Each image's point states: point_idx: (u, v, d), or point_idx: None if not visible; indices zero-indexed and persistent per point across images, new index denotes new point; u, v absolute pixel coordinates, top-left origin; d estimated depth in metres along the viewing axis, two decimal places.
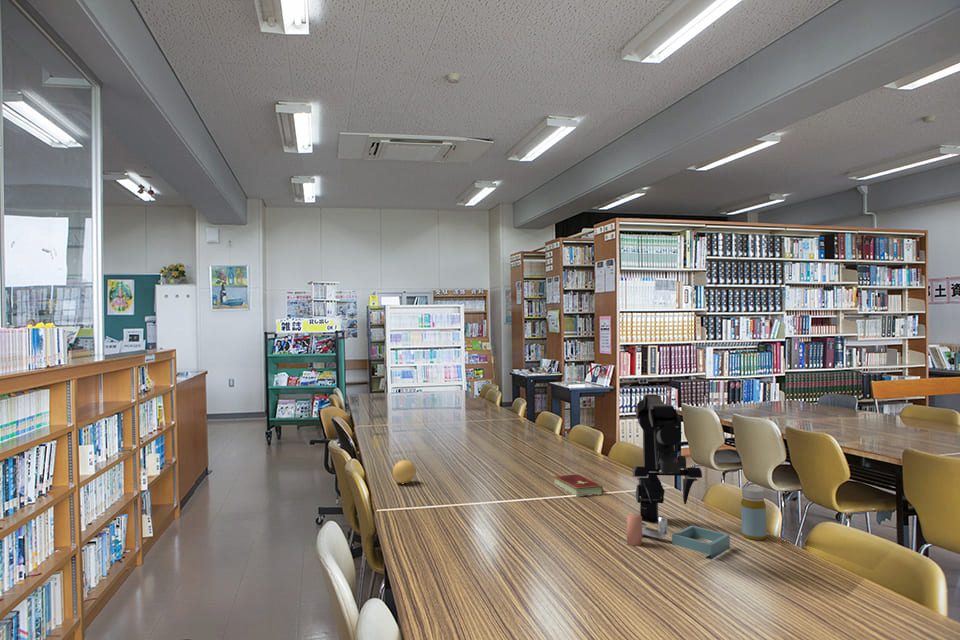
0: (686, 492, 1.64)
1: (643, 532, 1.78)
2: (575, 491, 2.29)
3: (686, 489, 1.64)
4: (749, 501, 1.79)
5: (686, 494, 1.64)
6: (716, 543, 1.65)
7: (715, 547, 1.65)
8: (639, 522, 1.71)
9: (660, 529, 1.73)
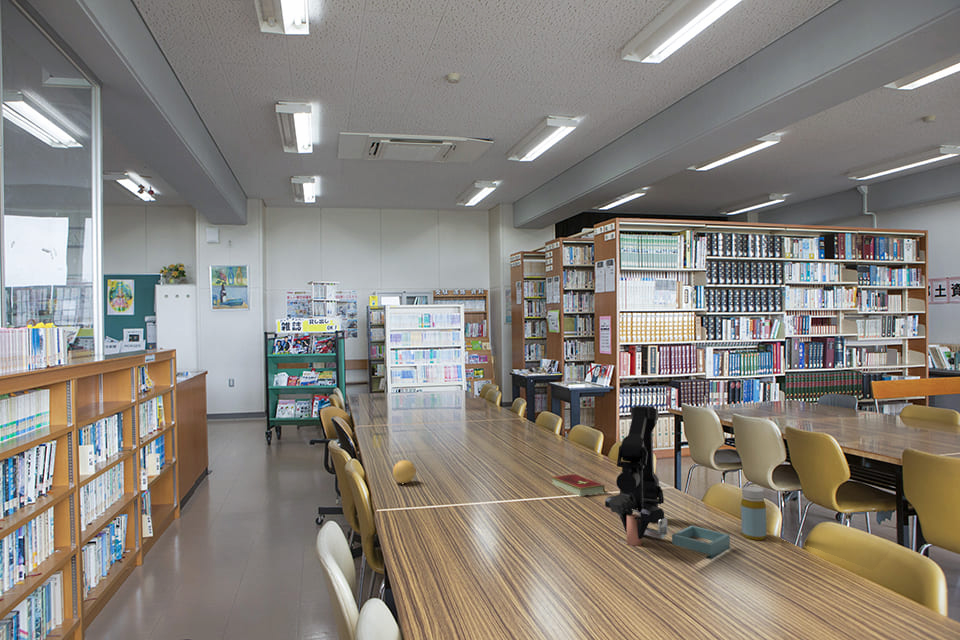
0: (638, 529, 1.70)
1: None
2: (579, 491, 2.28)
3: (638, 526, 1.70)
4: (749, 501, 1.79)
5: (638, 530, 1.70)
6: (716, 543, 1.65)
7: (715, 547, 1.65)
8: None
9: (660, 529, 1.73)
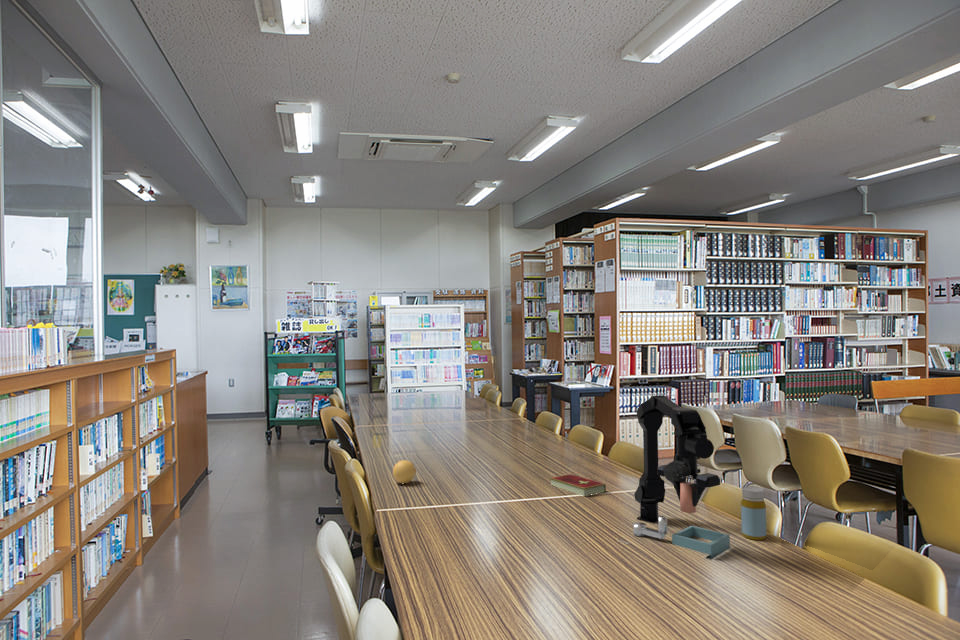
0: (693, 496, 1.69)
1: (643, 532, 1.78)
2: (582, 491, 2.28)
3: (692, 493, 1.69)
4: (749, 501, 1.79)
5: (693, 498, 1.69)
6: (716, 543, 1.65)
7: (715, 547, 1.65)
8: None
9: (660, 529, 1.73)
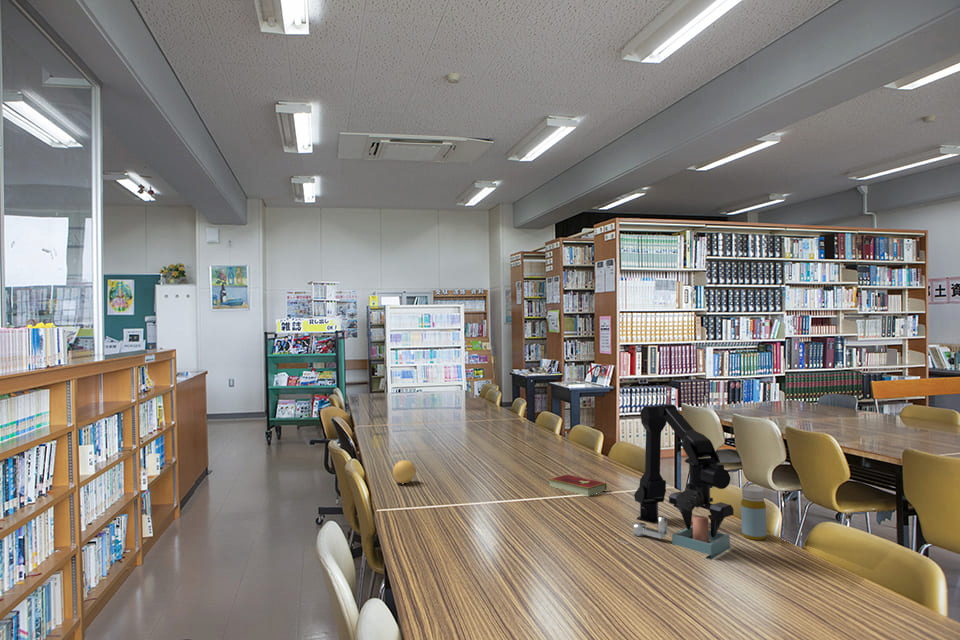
0: (711, 527, 1.67)
1: (643, 532, 1.78)
2: (586, 491, 2.28)
3: (711, 524, 1.67)
4: (749, 501, 1.79)
5: (711, 529, 1.67)
6: (716, 543, 1.65)
7: (715, 547, 1.65)
8: (706, 524, 1.70)
9: (660, 529, 1.73)
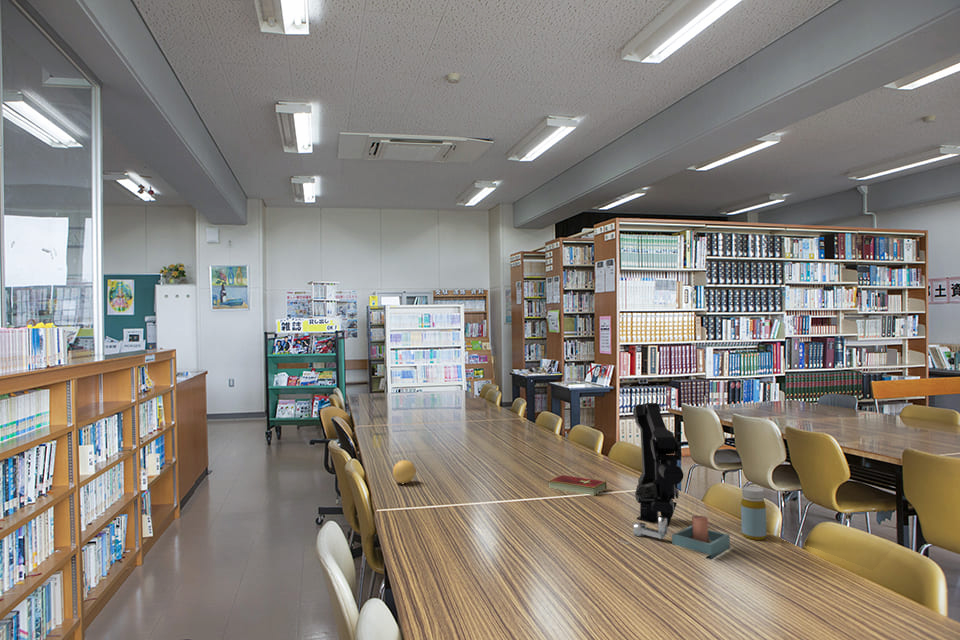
0: None
1: (643, 532, 1.78)
2: (591, 491, 2.29)
3: (661, 514, 1.77)
4: (749, 501, 1.79)
5: None
6: (716, 543, 1.65)
7: (715, 547, 1.65)
8: (705, 523, 1.70)
9: (660, 529, 1.73)
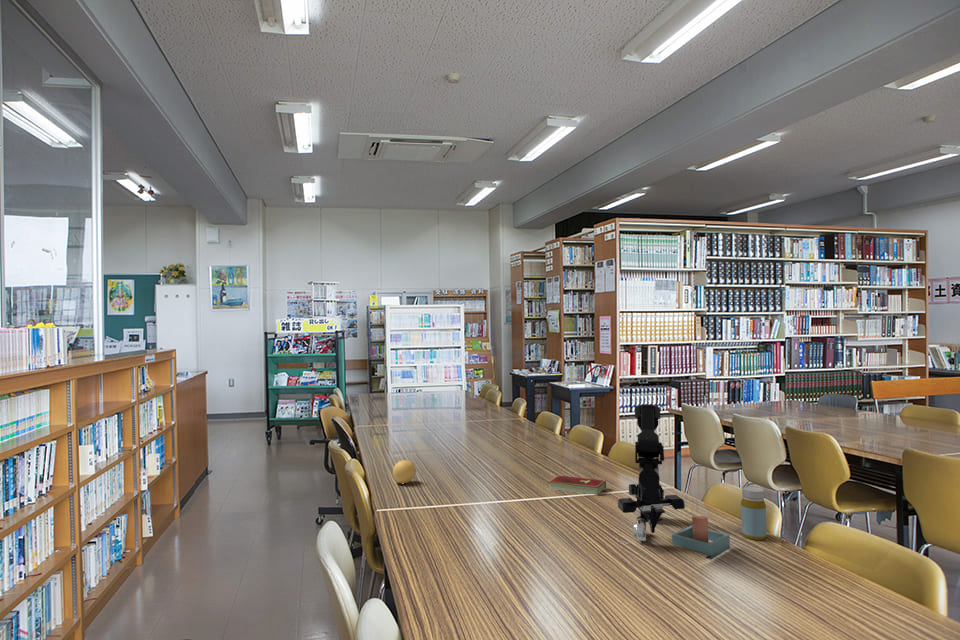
0: None
1: (636, 531, 1.78)
2: (594, 490, 2.29)
3: None
4: (749, 501, 1.79)
5: None
6: (716, 543, 1.65)
7: (715, 547, 1.65)
8: (705, 524, 1.70)
9: (637, 530, 1.73)
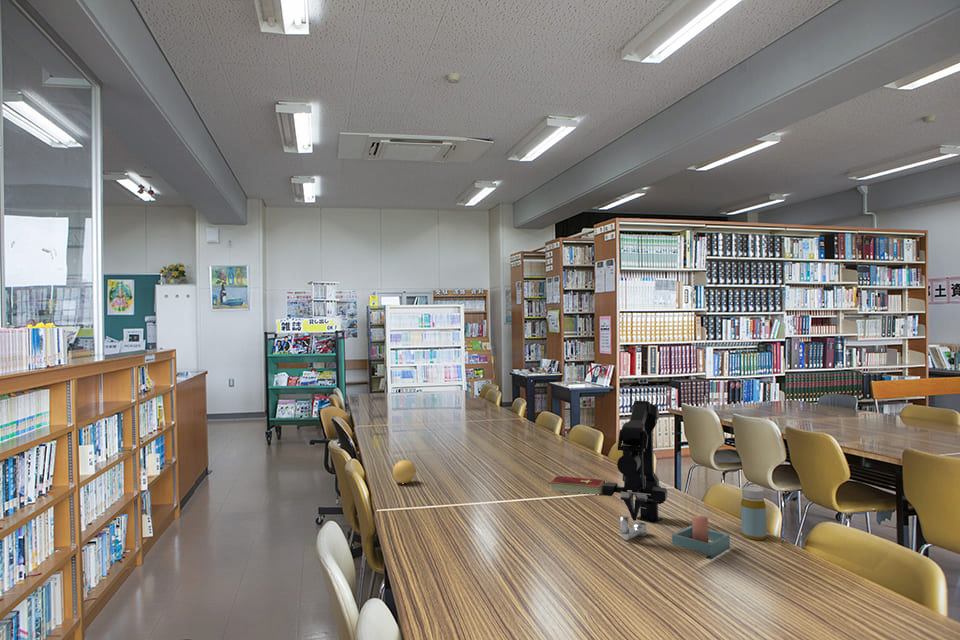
0: None
1: None
2: (596, 490, 2.30)
3: None
4: (749, 501, 1.79)
5: None
6: (716, 543, 1.65)
7: (715, 547, 1.65)
8: (705, 523, 1.70)
9: None
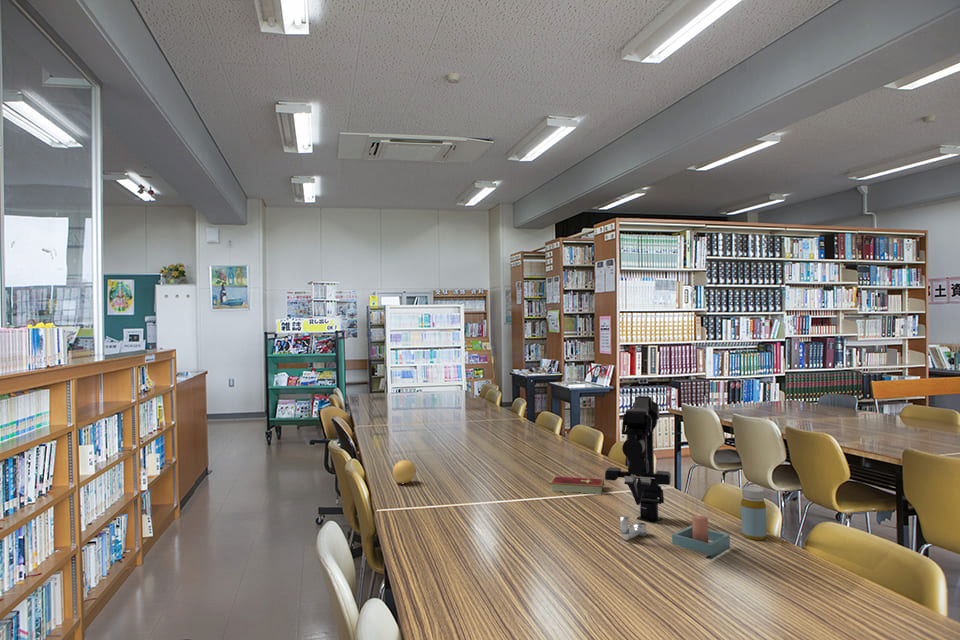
0: None
1: None
2: (598, 489, 2.31)
3: None
4: (749, 501, 1.79)
5: None
6: (716, 543, 1.65)
7: (715, 547, 1.65)
8: (705, 524, 1.70)
9: None
